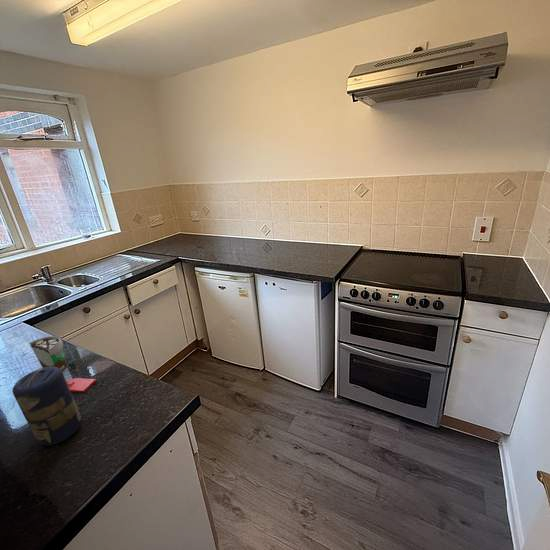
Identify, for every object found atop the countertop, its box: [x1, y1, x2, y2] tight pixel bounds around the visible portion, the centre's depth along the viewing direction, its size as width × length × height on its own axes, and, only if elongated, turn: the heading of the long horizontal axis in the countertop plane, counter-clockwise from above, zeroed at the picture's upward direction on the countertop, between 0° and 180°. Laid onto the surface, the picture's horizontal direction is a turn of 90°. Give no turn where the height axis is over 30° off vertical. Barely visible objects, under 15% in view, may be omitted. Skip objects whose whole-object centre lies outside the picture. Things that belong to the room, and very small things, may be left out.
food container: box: [29, 336, 68, 373], centre depth 100 cm, size 12×6×10 cm, turn 63°
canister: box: [12, 367, 82, 446], centre depth 72 cm, size 10×10×18 cm
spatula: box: [66, 377, 97, 393], centre depth 92 cm, size 20×5×1 cm, turn 80°
